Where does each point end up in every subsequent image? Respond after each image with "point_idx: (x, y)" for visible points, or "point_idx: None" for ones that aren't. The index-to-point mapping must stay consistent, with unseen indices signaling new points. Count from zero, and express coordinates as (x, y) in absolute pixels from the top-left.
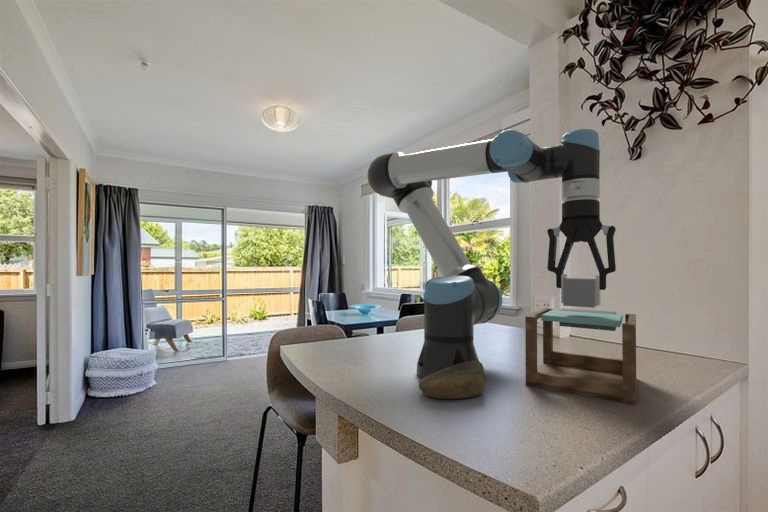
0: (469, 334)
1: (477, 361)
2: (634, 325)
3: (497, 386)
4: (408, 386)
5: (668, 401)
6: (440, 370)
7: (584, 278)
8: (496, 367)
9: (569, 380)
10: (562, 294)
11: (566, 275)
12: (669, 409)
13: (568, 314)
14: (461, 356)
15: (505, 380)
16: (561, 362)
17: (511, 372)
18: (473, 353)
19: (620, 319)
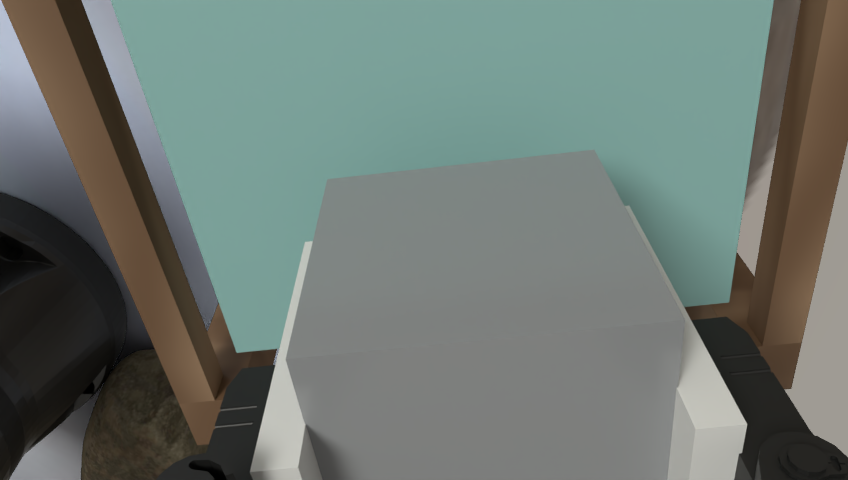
0: (2, 449)
1: (172, 462)
2: (789, 388)
3: (209, 297)
4: (28, 455)
5: (778, 46)
6: None
7: (516, 346)
8: (9, 51)
9: None
10: None
11: (307, 475)
12: (761, 145)
13: None
14: (57, 417)
15: (183, 217)
16: None
17: (121, 87)
18: (52, 365)
19: (739, 223)
